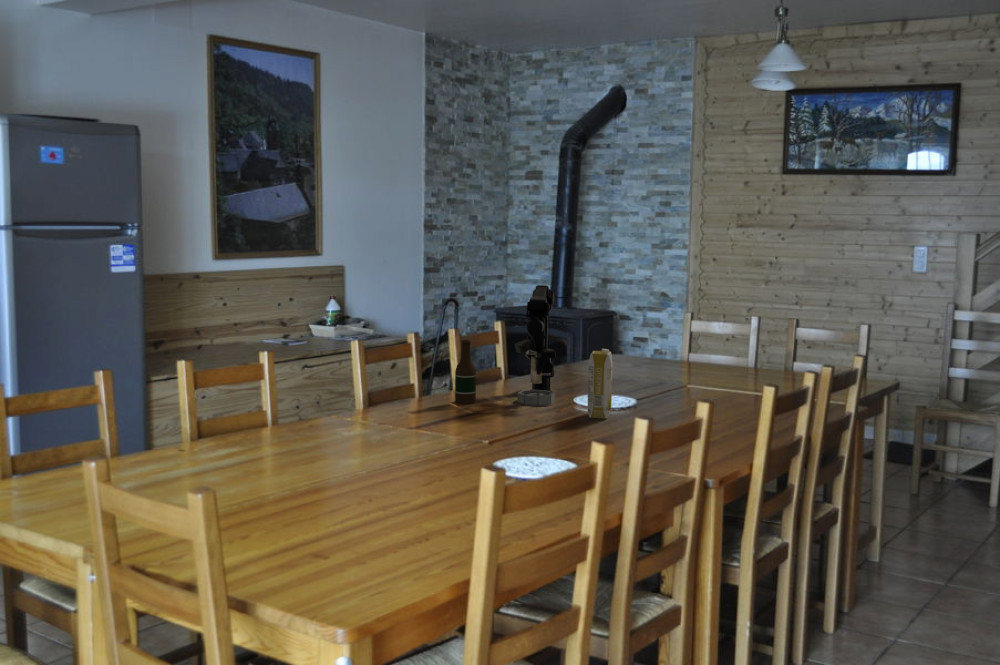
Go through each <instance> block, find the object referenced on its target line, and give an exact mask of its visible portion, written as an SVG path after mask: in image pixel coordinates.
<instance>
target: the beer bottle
mask: <svg viewBox="0 0 1000 665" xmlns="http://www.w3.org/2000/svg"><path fill="white" fill-rule="evenodd" d="M460 344H461V348H460V349H461V350H460V359H459V362H458V364H457V365H456V368H455V372H454V374H455V375H454V378H455V379H454V402H455V404H459V405H473V404H475V403H476V400H477V399H476V398H477V371H476V370H477V369H476V367H475V365H474V364H473V362H472V354H471V353H472V351H471V344H472V341H471V340H470V339H461V341H460Z"/></svg>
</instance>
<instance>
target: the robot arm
mask: <svg viewBox="0 0 1000 665" xmlns="http://www.w3.org/2000/svg"><path fill="white" fill-rule="evenodd" d="M554 304H555V292H554V291H553V290H552V289H550V287H549V285H547V284H546V285H543V284H537V285H535V288H534V290H532V296H531V297H530V298H529V299H528V301H527V303H526V313H525V315H526V316H525V318H527V319H529V322H528V324H527V326H526V331H527V333H529V334H527V336H526V339H524V340H521V341H518V342H516V343H514V348H515V351H516V353H520V354H523V355H524V356H525V357H526V358H527V359H528V361H529V364H530V366H531V356H537V357H533V358H534V359H535V361H536V369H537V375H540V374H541V372H542V383H539V384H533V383H531V389H530V390H547V391H551V392H553V390H551V378H554V377H555V365H554V364H553V362H552V359H553V358H555V359H556V357H557V354H556V351H555V350H554V349H551V348H548V338H549V336H548V335H549V334H548V333H549V316H550V313H551V311H552V310H553V305H554Z"/></svg>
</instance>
